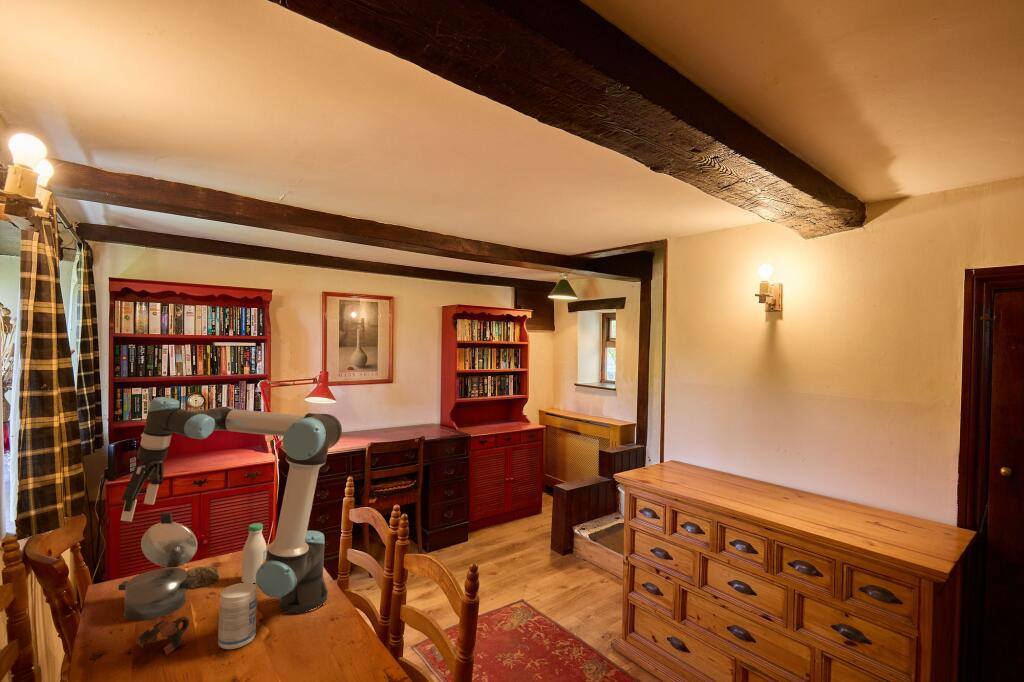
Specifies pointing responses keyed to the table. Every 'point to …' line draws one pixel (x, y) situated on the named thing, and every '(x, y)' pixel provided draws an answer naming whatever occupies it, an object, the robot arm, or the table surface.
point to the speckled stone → (202, 576)
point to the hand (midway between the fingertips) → (137, 511)
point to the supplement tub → (237, 615)
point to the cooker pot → (155, 593)
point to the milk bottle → (253, 553)
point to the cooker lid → (169, 543)
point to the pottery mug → (166, 633)
